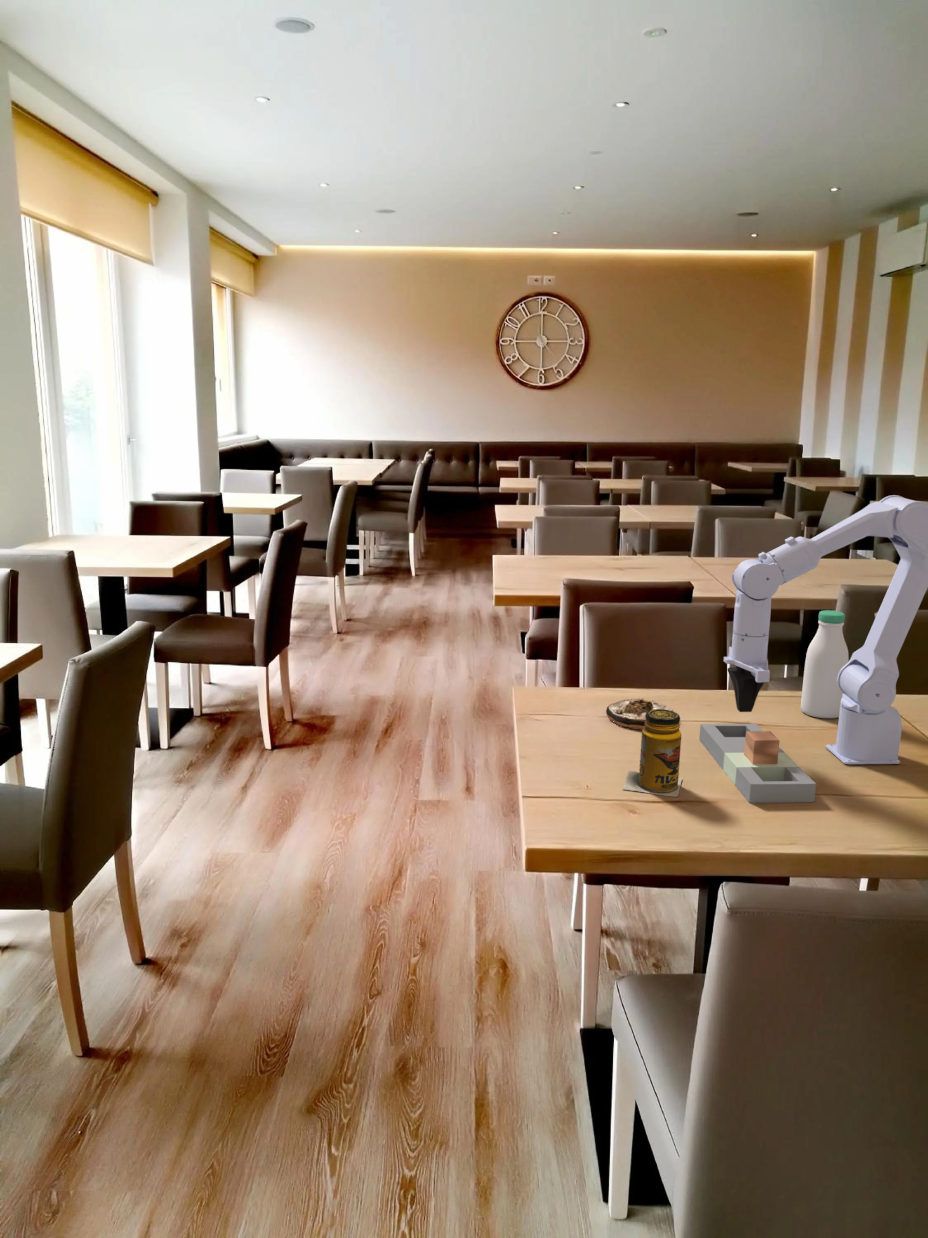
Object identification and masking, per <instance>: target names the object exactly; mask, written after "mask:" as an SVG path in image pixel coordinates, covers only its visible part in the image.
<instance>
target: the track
mask: <svg viewBox="0 0 928 1238" xmlns="http://www.w3.org/2000/svg"><path fill="white" fill-rule="evenodd" d="M746 731H764V730H763V729H762V728H761V726H759V725H758V724H757V723H700V729H699V742H700V743H701V744H702V745H703V746H704V748H705V749H706V751H708V753H709V754H710V756H711V757H712V758H713V759H714V760H715V761H716V763H717V765H719V767H720V768H721V770H723V772H724V773H725V774H726V776H727V777H728V778H729V779H730V781H731V782H732V783H733V784H734V785H735V787H736V788H737V789H738V791H739V792H740V793H741V795H742V796H743V797H744V798H745V800H746V801H747V802H748V803H749V804H753V803H754V804H756V803H758V804H759V803H760V804H761V803H770V804H771V803H773V804H774V803H815V798H816V788H817V783H816V782H815V781H814V780H813V779H812V778H811V777H810V776H809V774H807V773H806V772H805V771H804V770H803V769H802V768H801V767H800V766H799V765H798V764H797V763H796V762H795V761H794V760H793V759H792V758H791V757H790V756H789V755H788V754H787V753H786V752H785V751H784V750H783V749H782V748H781V747H780V746H779V752H778V762H777V764H752V763H751V762H750V761H749V760H748V759H747V757H746V756H745V755H744V749H745V738H746Z"/></svg>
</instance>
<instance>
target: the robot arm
mask: <svg viewBox="0 0 928 1238" xmlns="http://www.w3.org/2000/svg"><path fill="white" fill-rule="evenodd" d="M866 537H879V538H888V539H889V540H890V541H891V543H892V544H893V546H894V548H895V550H896V551H897V554H898V555H899V557H900V560H899V562H898V564H897V567H896V570H895V572H894V574H893V577H892V579H891V581H890V583H889V586H888V588H887V591H886V593H885V595H884V598H883V600H882V603H881V604H880V607H879V609H878V611H877V614H876V616H875V618H874V621H873V623H872V625H871V628H870V630H869V632H868V634H867V637H866V639H865V642H864V644H863V645H862V646H861V647H860V648H858V649H857V650H856V651H854V652H852V654H851V656H850V659H849V660H848V663H847V664H846V665H845V666H843V667H842V669H841V670H840V671H839V673H838V677H837V684H838V687H839V689H840V690H841V691H842V692H843V695H842V699H841V704H840V713H839V717H838V724H837V732H836V740H835V744H825V748H826V749H827V750H828V751H830V752H831V754H833V755H834V756H835V757H836V758H838V759H839V760H840V761H841V763H843V764H845V765H894V764H895V765H899V764H900V763H901V760H899V752H900V744H901V737H902V731H903V730H902V728H903V723H902V718H901V717H902V716H901V714H900V712H899V710H898V709H897V708H896V707H894V706H892V705H893V703H894V701H895V699H896V696H897V687H896V685H897V683H898V682H897V681H898V678H899V676H900V671H899V666H898V662H897V658H898V656H899V653H900V651H901V649H902V647H903V645H904V642H905V640H906V638H907V635H908V633H909V631H910V628H911V626H912V624H913V621H914V620H915V618H916V617H915V616H916V615H917V612H918V610H919V609H920V605H921V604H922V602H923V599H924V596H925V595H926V592H927V590H928V503H927V502H925V501H920V500H913V499H909V498H905V497H903V496H901V495H898V494H897V495H895V494H893V495H888V496H885V497H883V498H882V499H880V500H879V501H878V500H877V501H874V502H872V503H869V504H868V505H867V506H865V507H863V508H862V509H861V510H859V511H857V512H855V513H854V514H852V515H850V516H848V517H847V518H845V519H843V520H841V521H839V522H838V523H836V524H834V525H833V526H831V527H829V528H827V529H825V530H824V531H822V532H820V533H819V534H817V535H816V536H813V537H812V538H807V537H804V536H797V537H793V536H789V537H787V538H786V539H784V542H785V543H784V544H782V545H780V546H778V547H776V548H773V549H772V550H770V551H768V552H765V551H761V553H758V554H757V555H758V556H757V557H758V559H757V558H756V559H755V558H753V559H752V558H750V559H745V560H743V561H741V562H740V563H739V564H738V565H737V567H736V568H735V570H734V572H733V574H731V581H732V584H733V585H734V587H735V588H736V591H735V603H734V613H733V626H732V636H731V637H732V638H731V641H732V642H731V646H729V647H728V654H727V655H728V656H723V662H724V663H725V664H727V665H734V666H735V667H734V666H733V667H732V666H730V667H728V668H727V673H728V675H729V676H730V680H731V682H732V686H733V691H734V698H735V704H736V709H737V711H738V712H740V713H751V712H753V710H754V707H755V704H756V701H757V699H758V695H759V694H760V693H759V692H760V691H761V689H762V687H763V686H764V684H765V683H770V678H771V671H770V670H769V659H768V648H769V646H768V645H769V635H770V626H771V625H770V624H771V613H772V612H771V610H772V606H771V605H772V597H773V596H774V595H775V594H776V593H777V591H778V589H779V587H780V586H782V585H784V584H787V583H789V582H791V581H792V580H795V579H796V578H798V577H801V576H802V575H804V574H806V573H808V572H810V571H812V570H814V569H816V568H817V567H818V565H819V562H820V560H821V558H822V557H824V556H826V555H828V554H830V553H833V552H835V551H838V550H839V549H842V548H844V547H846V546H848V545H850V544H853V543H855V542H857V541H859V540H862V539H865V538H866Z"/></svg>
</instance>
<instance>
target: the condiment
mask: <svg viewBox="0 0 928 1238" xmlns="http://www.w3.org/2000/svg"><path fill="white" fill-rule="evenodd" d="M666 709H667V708H666ZM666 709H654V710H650V711H648V712H647V713H646V715H645V718H646V720H645V727H644V728H643V730H641V740H640V755H639V756H640V757H639V771H636V770H634V771H632V770H628V773H627V776H626V779H625V781H624V784H623V786H622V790H626V791H630V792H631V791H632V792H634V791H635V792H640V793H641V792H642V793H648V794H652V795H659V796H666V797H667V796H668V797H673V798H674V797H679V794H680V793H679V792H680V790H681V784H682V779H683V778H682V777H679V775H680V774H679V773H680V762H681V761H680V759H681V743H682V732H681V730H680V727H681V726H680V723H681V721H680V720H681V717H680V714H679V713H678V712H676V711H674V710H673V711H671V710H672V709H670V710H666Z"/></svg>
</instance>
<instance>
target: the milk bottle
mask: <svg viewBox="0 0 928 1238" xmlns="http://www.w3.org/2000/svg"><path fill="white" fill-rule="evenodd" d="M845 619H846V614H845V613H843V612H841V611H837V610H829V609H828V610H827V609H826V610H821V611H819V613H818V622H817V623H818V628H817V630H816V633H815V635H814V637H813V639H812V640H811V642H810V643H809V645H808V648H807V651H806V654H805V655H806V657H805V661H804V671H803V679H802V680H803V682H802V689H801V701H800V710H801V712H802V713H803V714H805V715H807V716H811V717H814V718H818V719H827V720H828V719H837V718H838V719H839V713H840V704H841V699H842V695H843V692H842V691H841V690H840V689H839V687H838V684H837V677H838V673H839V671H840V670H841V669H842V667H843V666H845V665H846V664H847V663H848V662H849V660H850V659H849V649H848V646H847V643H846V641H845V638H844V633H843V626H844V625H845Z"/></svg>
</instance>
